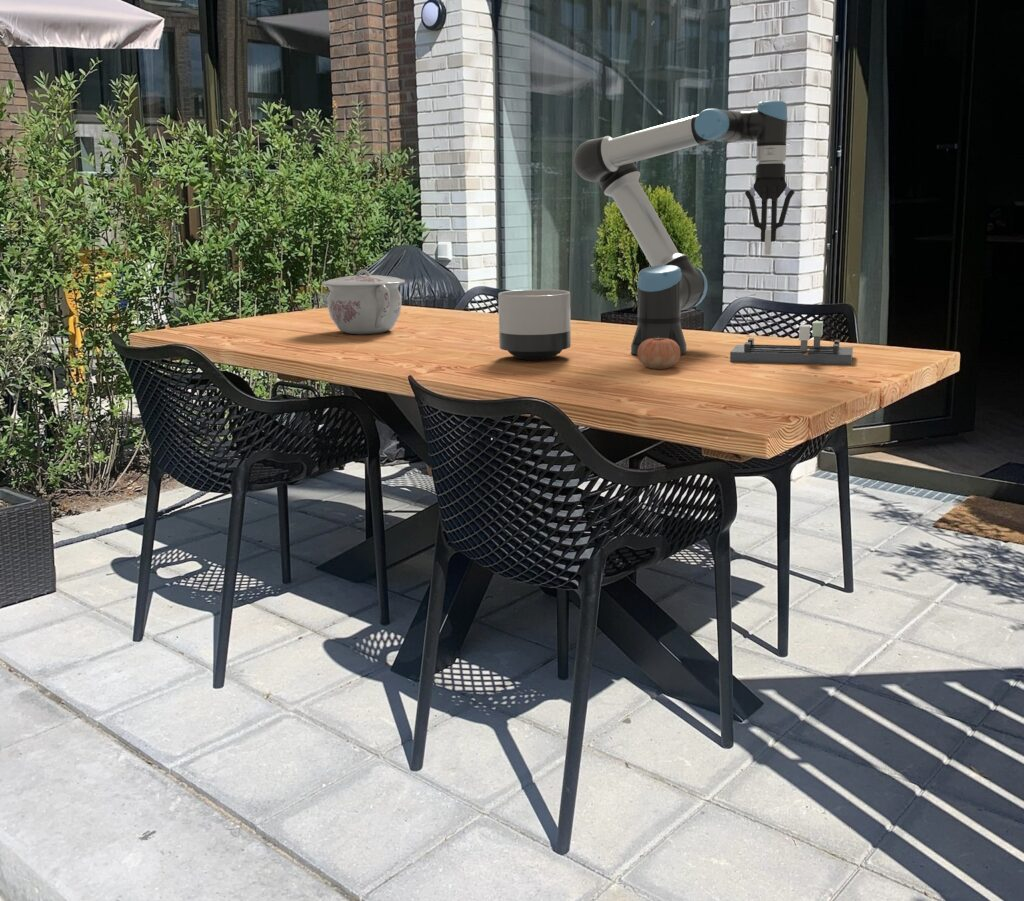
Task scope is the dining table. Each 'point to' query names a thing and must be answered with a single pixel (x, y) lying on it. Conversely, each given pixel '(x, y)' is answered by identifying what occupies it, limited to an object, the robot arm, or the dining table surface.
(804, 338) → the fader
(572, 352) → the dining table surface
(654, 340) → the small orange pumpkin
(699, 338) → the dining table surface
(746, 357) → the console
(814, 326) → the fader
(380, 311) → the chamber pot
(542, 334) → the planter
